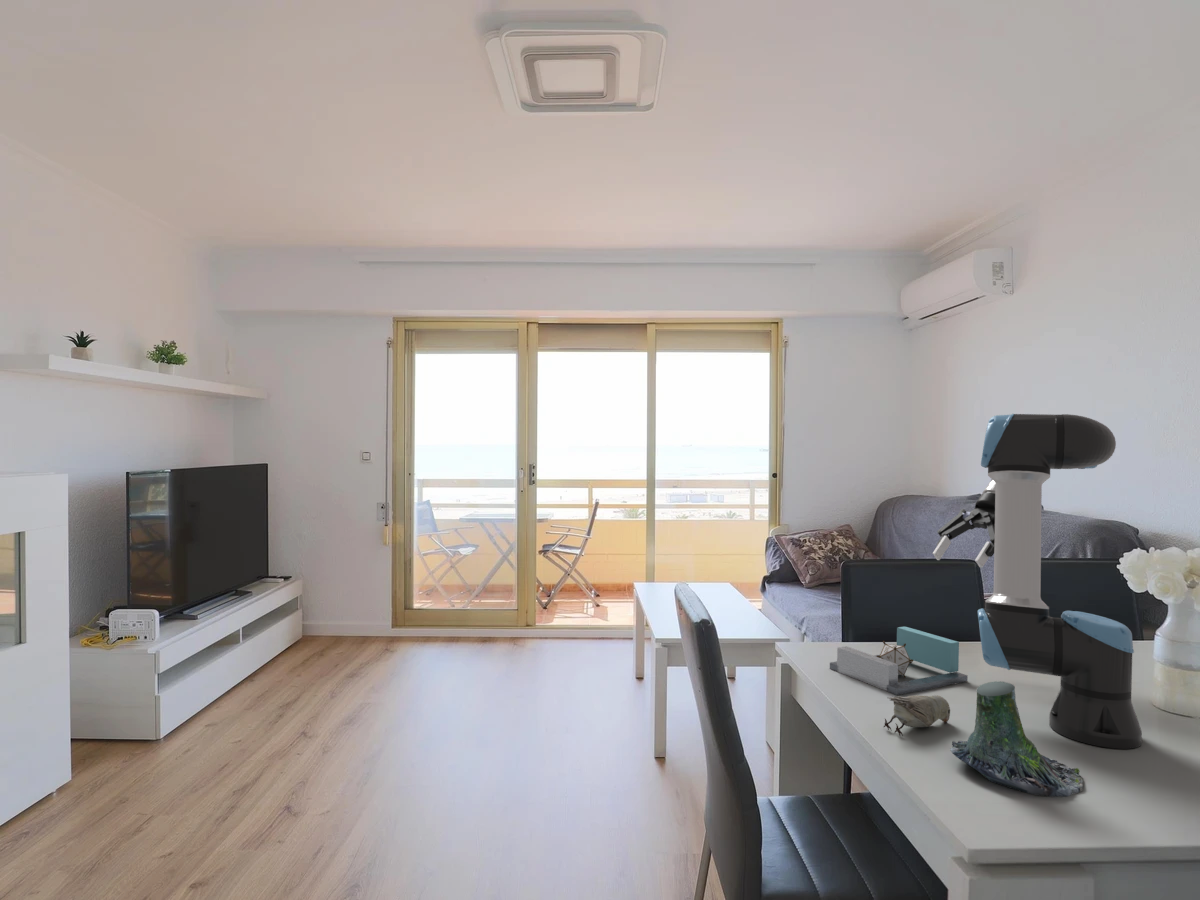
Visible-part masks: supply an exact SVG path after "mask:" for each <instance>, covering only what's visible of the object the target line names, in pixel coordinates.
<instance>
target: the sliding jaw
mask: <svg viewBox="0 0 1200 900" xmlns="http://www.w3.org/2000/svg"><path fill="white" fill-rule="evenodd" d="M905 643H906V646H905V649H906V651H907V653H908V656H909V658H910V660H914V661H913V662H916V663H920V664H923V665H926V666H929V667H932V668H935V669H938V670H941V671H944V672H947V673H953V672H959V666H960V665H959V662H960V661H959V660H960V659H959V656H960V655H959V654H960V651H959V650H960V641H957V640H953V639H949V638H947V637H943V636H941V635H940V636H939V635H936V634H933V633H929V632H925V631H922V630H919V629H916V628H911V627H908V626H899V627H896V645H900V646H904V644H905Z"/></svg>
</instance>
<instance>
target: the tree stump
mask: <svg viewBox="0 0 1200 900" xmlns="http://www.w3.org/2000/svg"><path fill="white" fill-rule="evenodd" d="M1015 689H1016V688H1015V685H1014V684H1012V683H1010V682H1005V681H999V680H998V681H997V680H996V681H989V682H984V683H982V684H980V685H979V686H977V688H976V712H975V720H974V721H975V722H974V723H975V725H974V730H973V731H972V732H971V733H970V735H969V737H968V739H967V741H966V740H965V741H964V740H957V742H955V741H952V743H951V746H952V747H951V748H949V751H950V752H951V753H952V754H953V756H955V757H956V758H958V759H959V760H960V761H961V762H963V763H965V764H966V765H968V766H970V767H971V768H972V769H974V770H976V771H977V772H978V773H980V774H981V776H983V777H984V778H985V777H986V778H985V779H986V780H988V781H989V782H992V783H994V784H998V785H1000V784H1001V785H1000V786H1004V787H1006V786H1007V788H1009V787H1010V788H1009V789H1013V790H1015V791H1019V790H1020V791H1019V792H1023V793H1026V794H1028V793H1029V795H1035V796H1041V797H1069V796H1071V795H1073V794H1078V793H1081V792H1083V788H1084V787H1083V786H1084V785H1083V784H1084V778H1083V777H1082V776H1081V775H1080V769H1079V768H1078V767H1072V768H1071V767H1069V766H1067V764H1063V763H1061V762H1059V761H1058V760H1056V759H1054V758H1050V757H1047V756H1045V755H1043V754H1041V753H1039V751H1038V750H1037V747H1036V745H1035V743H1033V742H1032V741H1031V739H1029V738H1028V737H1027V736H1026V734H1025V730H1024V728H1023V724H1022V721H1021V716H1020V712H1019V708H1018V705H1017V701H1016V691H1015Z"/></svg>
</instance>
